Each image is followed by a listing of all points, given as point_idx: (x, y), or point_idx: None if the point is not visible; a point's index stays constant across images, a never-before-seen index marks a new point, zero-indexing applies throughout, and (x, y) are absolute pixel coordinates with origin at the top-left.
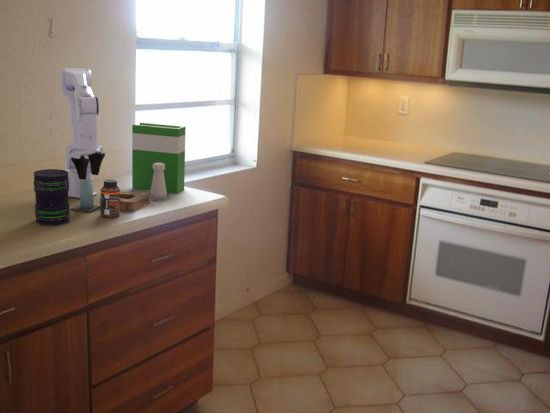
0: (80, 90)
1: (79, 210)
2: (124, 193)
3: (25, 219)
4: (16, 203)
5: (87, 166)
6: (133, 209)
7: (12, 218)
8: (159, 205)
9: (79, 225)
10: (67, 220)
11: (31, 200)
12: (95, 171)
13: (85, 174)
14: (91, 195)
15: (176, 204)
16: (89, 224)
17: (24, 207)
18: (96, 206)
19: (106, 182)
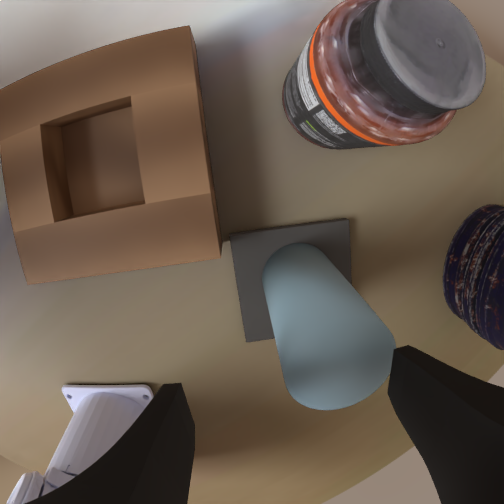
0: None
1: (350, 276)
2: (41, 216)
3: (484, 344)
4: (339, 477)
5: (476, 407)
6: (194, 42)
7: (480, 375)
8: (37, 38)
9: (491, 147)
10: (493, 208)
11: (287, 478)
12: (181, 422)
13: (439, 362)
14: (321, 267)
15: (3, 11)
16: (470, 119)
17: (372, 442)
18: (252, 249)
19: (484, 61)
